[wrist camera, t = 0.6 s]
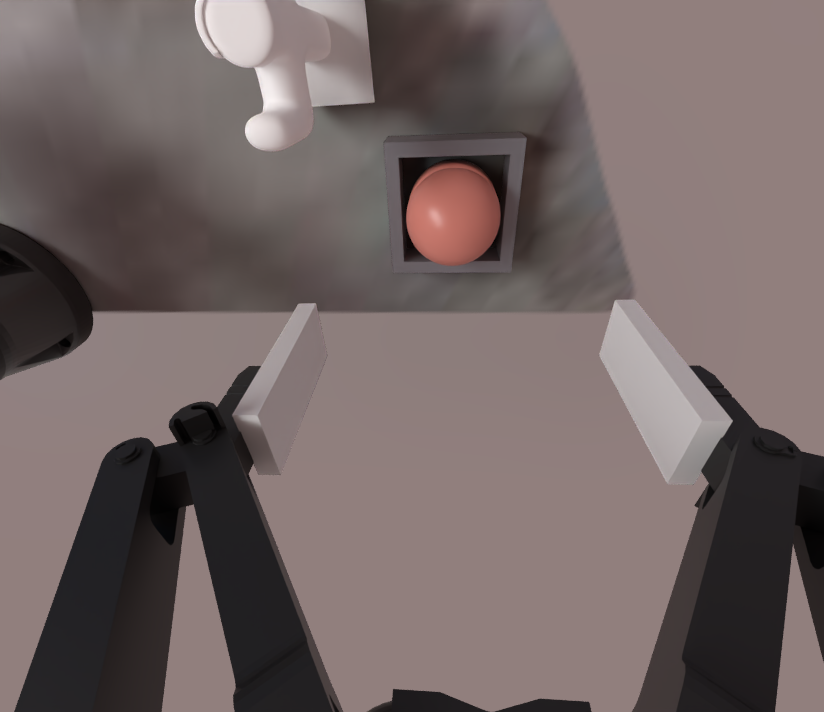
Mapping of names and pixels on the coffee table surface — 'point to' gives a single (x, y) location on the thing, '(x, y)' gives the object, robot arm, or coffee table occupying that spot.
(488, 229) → the pink ball
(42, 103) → the coffee table surface
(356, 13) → the white faucet
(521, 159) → the housing
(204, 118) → the coffee table surface
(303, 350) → the robot arm
